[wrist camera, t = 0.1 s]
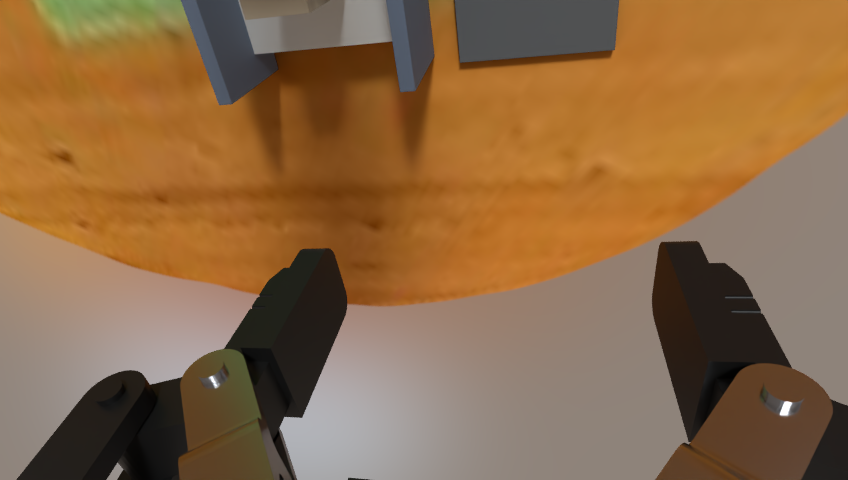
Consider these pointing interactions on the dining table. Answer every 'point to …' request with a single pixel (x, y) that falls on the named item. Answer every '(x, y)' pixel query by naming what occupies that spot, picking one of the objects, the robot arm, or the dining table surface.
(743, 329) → the robot arm
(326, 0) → the maple block
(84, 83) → the dining table surface
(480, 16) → the rubber mat
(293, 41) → the slot box
